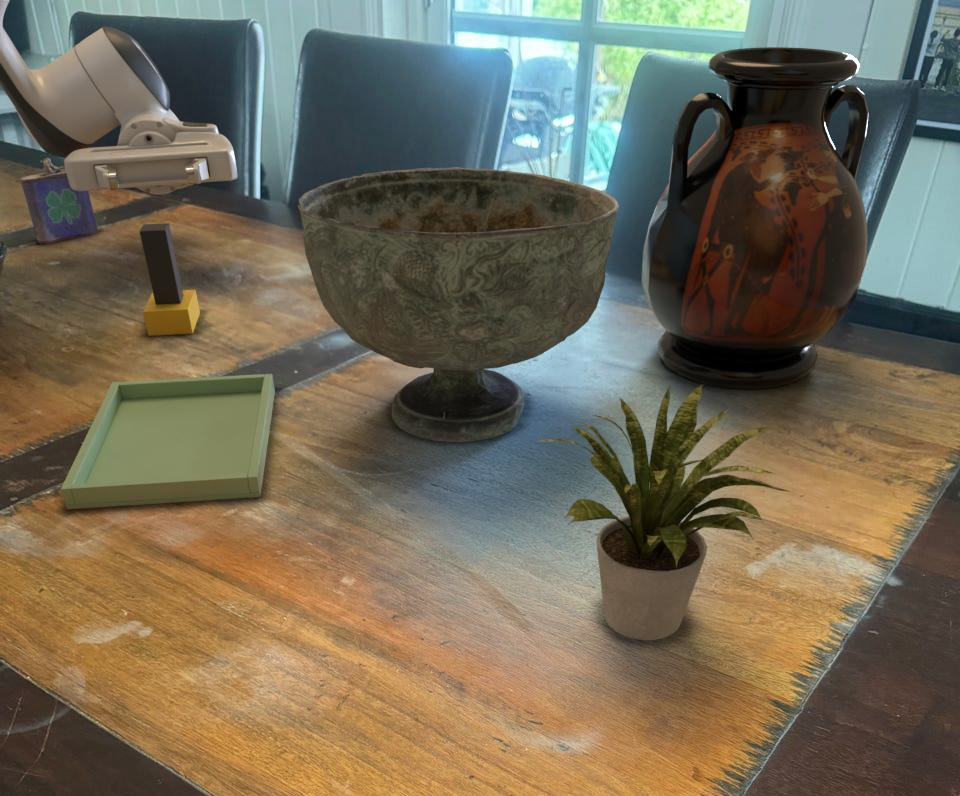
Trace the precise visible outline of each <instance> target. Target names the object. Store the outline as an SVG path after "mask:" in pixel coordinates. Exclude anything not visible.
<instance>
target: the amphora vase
mask: <svg viewBox="0 0 960 796" xmlns="http://www.w3.org/2000/svg"><path fill="white" fill-rule="evenodd" d="M859 68H860V63H859V61H858V59H857V58H855V57H854V56H853V55H851V54H848V53H845V52H841V51H836V50H829V49H820V48H806V47H785V46H784V47H781V46H780V47H778V46H777V47H775V46H774V47H773V46H772V47H769V46H767V47H746V48H737V49H735V48H734V49H729V50H725V51H719V52H717V53H716V54H715V55H713V56H712V57H711V58H710V59H709V60H708V69H709V72H710V73H711V74H712V75H713V76H714V77H717V78H719V79H721V80H722V81H723V83H724V84H726V92H727V93H726V95H727V97H726V98H727V100H726V101H725V99H723V98H722V97H721V96H720V94H718V93H714V92H701V93H700V92H699V94H697V95H695V96H693V98H691V99H690V100H688V101H686V104H685V105H684V107H683V109H682V111H681V112H680V114H679V116H678V118H677V120H676V124H675V128H674V129H675V130H674V134H673V137H672V138H673V140H672V144H671V156H670V168H669V178H668V184H667V185H666V187H665V189H664V190H663V193H661V196H660V198H659V200H658V202H657V204H656V206H655V209H654V211H653V213H652V217H651V218H650V221H649V224H648V228H647V232H646V236H645V239H644V243H643V247H642V261H641V262H642V263H641V286H642V290H643V295H644V298H645V301H646V303H647V304H648V306H649V308H650V310H651V312H652V314H653V316H654V317H655V318H656V320H657V321H658V323H659V324H660V325H661V327H663V329H664V330H665V331H664V332H663V334H662V335H661V337H659V339H658V341H657V354H658V356H659V358H660V359H661V361H662V362H663V364H664V365H665V366H666V367H667V368H668V369H670V370H671V371H672V372H675V373H676V374H677V375H680V376H682V377H684V378H686V379H689V380H691V381H693V382H698V383H701V384H704V385H709V386H712V387H720V388H725V389H739V390H740V389H741V390H756V389H770V388H775V387H780V386H786V385H788V384H791V383H794V382H796V381H799V380H801V379H802V378H804V377H805V376H807V375H808V374H809V373H810V372H812V371H813V370H814V369H815V366H816V363H817V361H818V358H819V354H818V351H817V348H816V345H815V343H816V342H817V341H818V340H820V339H821V338H822V337H824V336H826V334H828V333H829V332H831V331H832V330H833V329H834V328H835V327H836V326H837V325H838V324H839V323H840V321H841V320H842V319H843V318H844V317H846V316H847V313H848V312H849V310H850V308H851V307H852V305H854V302H855V300H856V298H857V296H858V292H859V290H860V287H861V283H862V280H863V275H864V272H865V270H866V266H867V255H868V253H867V251H868V240H869V239H868V237H869V235H868V224H867V213H866V210H865V204H864V200H863V196H862V194H861V191H860V189H859V186H858V184H857V181H856V180H857V177H858V172H859V168H860V163H861V159H862V156H863V155H862V154H863V149H864V145H865V141H866V137H867V131H868V121H869V113H870V111H869V107H868V103H867V98H866V95H865V93H864V92H863V91H861V90H860V88H858V86H856V85H855V84H845V85H841V86H838V87H835V86H837V85H838V84H839V83H841V82H844V81H848V80H849V79H851V78H853V77H854V76H855V75H856V74H857V73H858V71H859ZM834 87H835V88H834ZM843 102H846V103H847V106H848V107H847V108H848V112H849V113H848V129H847V130H848V131H847V137H846V141H845V144H844V148H843V152H842V156H841V155H840V153H839V152H838V150H837V149H836V147H835V145H834V143H833V141H832V139H831V137H830V134H829V131H828V128H829V124H830V120H831V119H832V118H831V117H832V114H833V113H834V112H835V110H836V109H837V108H838V107H839V106H840V105H841V103H843ZM709 109H711V110H712V112H713V113H714V115H715V117H716V128H715V130H714V132H713V133H712V134H711V135H710V137H709V138H708V139H707V140H706V141H705V143H703V145H702V146H701V147H700V148H698V150H697V151H695V153H694V154H693V155H692V156H691V157H690V158H689V147H690V144H691V140H692V136H693V132H694V128H695V125H696V123H697V121H698V119H699V117H700V116H701V115H702V113H703V112H705V111H706V110H709Z"/></svg>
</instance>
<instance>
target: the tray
mask: <svg viewBox="0 0 960 796" xmlns="http://www.w3.org/2000/svg"><path fill="white" fill-rule="evenodd" d="M274 382H275V381H274V375H273V373H261V374H260V373H259V374H240V375H221V376H220V375H219V376H203V377H202V376H201V377H185V378H168V379H166V378H165V379H149V380H131V381H112V382H111V383H110V386H109V388H108V390H107V392H106V394H105V396H104V397H103V400H102V402H101V404H100V407H99V409H98V410H97V412H96V415H95V417H94V419H93V421H92V423H91V425H90V427H89V429H88V431H87V433H86V436H85V437H84V440H83V441H82V444H81V446H80V448H79V450H78V452H77V454H76V457H75V459H74V460H73V463H72V465H71V467H70V469H69V471H68V473H67V475H66V477H65V479H64V482H63V483H62V486H61V488H60V492H61V494H62V498H63V501H64V504H65V507H66V510H77V509H79V510H80V509H93V508H110V507H124V506H138V505H139V506H140V505H154V504H169V503H171V504H172V503H185V502H199V501H200V502H201V501H216V500H217V501H218V500H231V499H232V500H233V499H247V498H248V499H249V498H260V497H261V495H262V489H263V482H264V473H265V467H266V459H267V452H268V445H269V437H270V432H271V431H270V429H271V423H272V416H273V409H274V402H275V395H276V389H275V383H274Z"/></svg>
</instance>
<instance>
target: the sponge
mask: <svg viewBox="0 0 960 796" xmlns="http://www.w3.org/2000/svg"><path fill="white" fill-rule="evenodd" d="M139 236H140V241H141V245H142V249H143V253H144V258H145V263H146V269H147V271H148V277H149V282H150V284H151V285H150V286H151V290H152V293H151V294H150V296H149V299H148V301H147V303H146V305H145V307H144V309H143V311H142V314H143V318H144V323H145V327H146V332H147V334H148V335H147V336H149V337H150V336H170V335H190V334H192V335H193V334H194V331H195V329H196V326H197V323H198V320H199V317H200V314H201V312H200V306H199V301H198V295H197V291H196V289H183V285H182V281H181V276H180V271H179V266H178V260H177V256H176V251H175V247H174V240H173V237H172V232H171V226H170V223H145V224H144V223H143V225H142V226H141V228H140V230H139Z"/></svg>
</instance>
